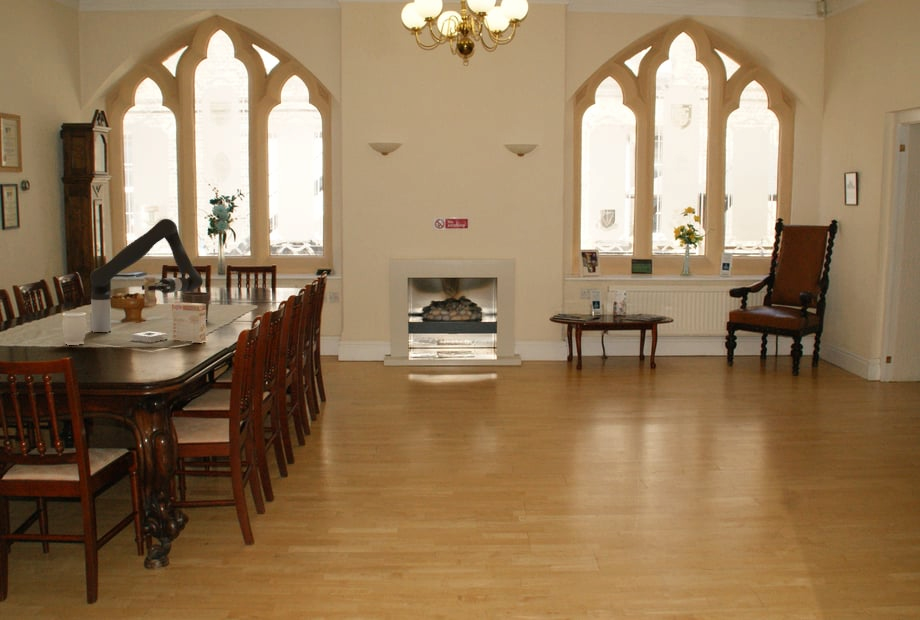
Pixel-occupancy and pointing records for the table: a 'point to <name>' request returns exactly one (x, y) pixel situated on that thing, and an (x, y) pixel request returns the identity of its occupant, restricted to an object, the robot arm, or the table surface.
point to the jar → (74, 327)
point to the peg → (149, 295)
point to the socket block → (149, 336)
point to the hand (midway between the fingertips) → (145, 288)
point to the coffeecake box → (189, 322)
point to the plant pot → (197, 299)
